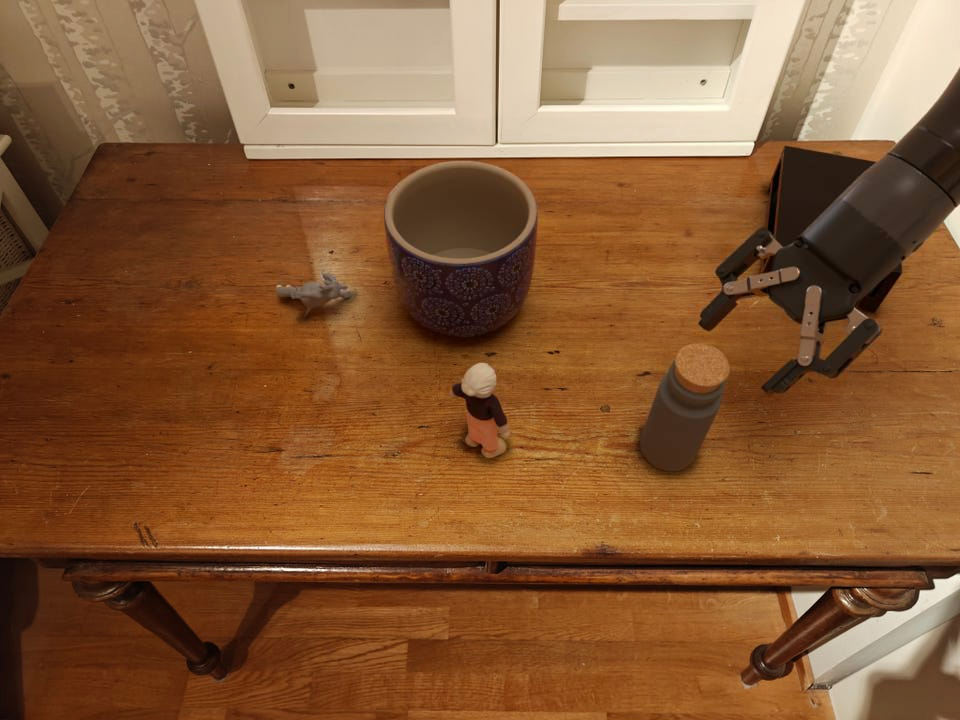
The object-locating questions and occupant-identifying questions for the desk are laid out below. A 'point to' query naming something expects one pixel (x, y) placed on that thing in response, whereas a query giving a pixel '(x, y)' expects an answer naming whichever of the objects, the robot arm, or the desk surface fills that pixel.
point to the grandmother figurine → (482, 410)
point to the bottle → (684, 407)
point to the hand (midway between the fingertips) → (733, 358)
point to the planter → (461, 245)
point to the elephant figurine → (315, 291)
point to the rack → (814, 201)
